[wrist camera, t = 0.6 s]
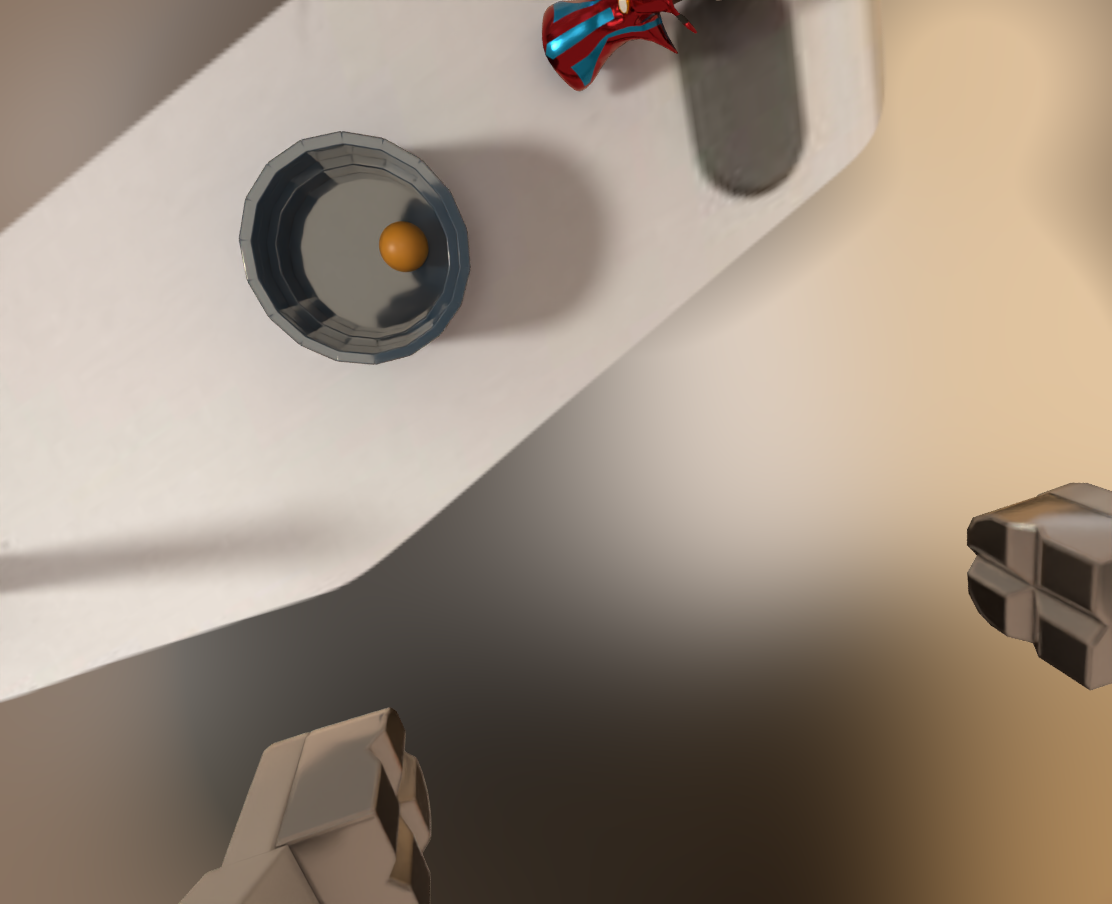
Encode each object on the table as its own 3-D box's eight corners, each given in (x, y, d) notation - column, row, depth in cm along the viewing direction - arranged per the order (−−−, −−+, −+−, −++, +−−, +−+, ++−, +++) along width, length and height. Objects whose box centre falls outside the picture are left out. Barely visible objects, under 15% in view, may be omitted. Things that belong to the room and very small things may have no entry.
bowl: (242, 178, 29) (200, 160, 24) (436, 136, 30) (436, 110, 25) (311, 367, 33) (287, 387, 27) (485, 323, 34) (494, 334, 28)
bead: (374, 228, 31) (369, 225, 28) (421, 218, 31) (419, 214, 29) (389, 276, 31) (385, 277, 29) (434, 265, 32) (434, 265, 29)
